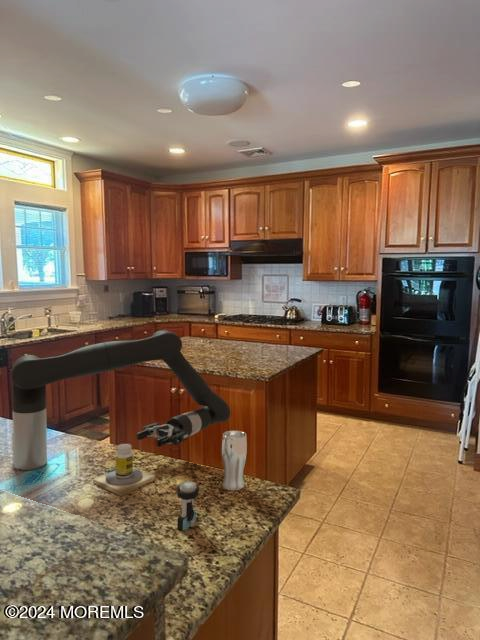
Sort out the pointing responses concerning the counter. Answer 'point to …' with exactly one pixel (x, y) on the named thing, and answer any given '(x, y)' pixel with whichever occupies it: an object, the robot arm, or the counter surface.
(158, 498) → the counter surface
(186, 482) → the push button
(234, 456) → the beer glass
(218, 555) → the counter surface
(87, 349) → the robot arm
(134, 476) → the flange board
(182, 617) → the counter surface
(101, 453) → the counter surface
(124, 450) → the supplement bottle
